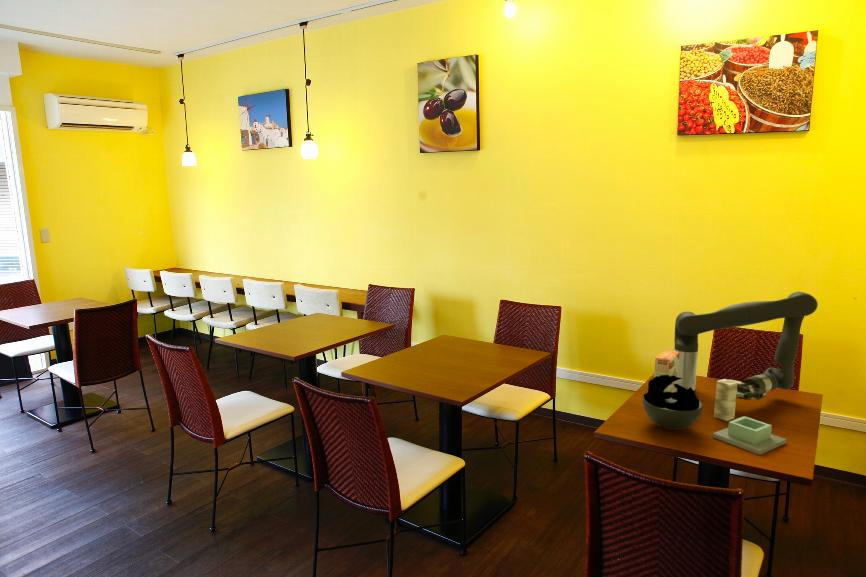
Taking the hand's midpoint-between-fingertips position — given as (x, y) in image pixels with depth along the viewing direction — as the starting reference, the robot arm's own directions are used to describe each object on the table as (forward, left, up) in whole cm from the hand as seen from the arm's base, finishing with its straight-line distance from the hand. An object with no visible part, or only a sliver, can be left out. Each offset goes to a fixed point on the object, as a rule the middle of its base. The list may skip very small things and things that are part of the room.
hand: (733, 393), depth 215 cm
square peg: (0, -5, -9) cm, 10 cm away
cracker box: (-20, -13, -9) cm, 25 cm away
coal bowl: (-5, -30, -9) cm, 31 cm away
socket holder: (+16, -17, -9) cm, 25 cm away
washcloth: (-14, +28, -9) cm, 33 cm away
